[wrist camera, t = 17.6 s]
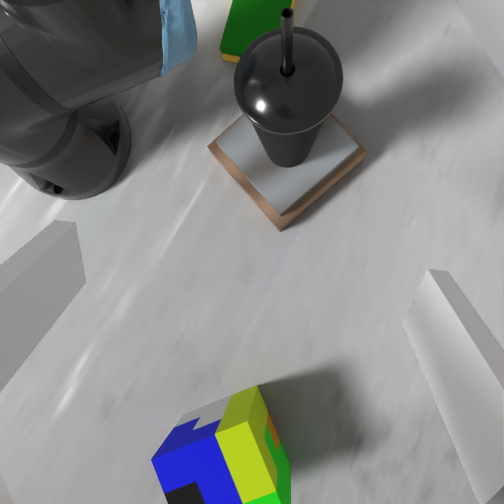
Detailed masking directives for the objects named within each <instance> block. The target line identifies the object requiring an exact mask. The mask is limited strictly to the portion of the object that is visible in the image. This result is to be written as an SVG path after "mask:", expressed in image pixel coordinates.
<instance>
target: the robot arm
mask: <svg viewBox="0 0 504 504" xmlns="http://www.w3.org/2000/svg"><path fill="white" fill-rule="evenodd" d="M196 48H197V30H196V24H195V19H194V15H193V10H192V6H191V2H190V0H0V162H1V163H3V164H6V165H8V166H9V167H10V168H12V169H13V170H14V171H15V172H16V173H17V174H18V175H19V176H21V177H22V178H23V179H24V180H25V181H26V182H27V183H28V184H30V185H31V186H32V187H34V188H35V189H37V190H39V191H41V192H43V193H45V194H48V195H51V196H54V197H57V198H61V199H66V200H81V199H86V198H90V197H92V196H95V195H97V194H99V193H101V192H102V191H104V190H105V189H107V188H108V187H109V186H110V185H111V184H112V183H113V182H114V181H115V180H116V179H117V178H118V177H119V175H120V174H121V172H122V170H123V169H124V167H125V165H126V162H127V160H128V156H129V152H130V146H131V134H130V128H129V124H128V121H127V118H126V116H125V114H124V112H123V110H122V109H121V107H120V106H119V105H118V104H117V103H116V101H115V100H113V99H112V98H111V96H113V95H116V94H118V93H120V92H123V91H125V90H128V89H130V88H133V87H135V86H138V85H140V84H142V83H145V82H147V81H150V80H152V79H155V78H157V77H161V76H164V75H165V74H166V72H167V71H169V70H171V69H173V68H175V67H177V66H179V65H181V64H183V63H185V62H187V61H188V60H189V59H190V58H191V57H192V56H193V55H194V53H195V51H196ZM85 283H86V278H85V273H84V267H83V262H82V256H81V250H80V245H79V239H78V233H77V228H76V223H74V222H66V221H58V220H54V221H53V222H52V223H51V224H50V225H48V226H47V227H46V228H45V229H44V230H42V231H41V232H40V233H39V234H38V235H36V236H35V237H34V238H33V239H32V240H30V241H29V242H28V243H27V244H26V245H24V246H23V247H22V248H21V249H20V250H18V251H17V252H16V253H15V254H14V255H12V256H11V257H10V258H9V259H7V260H6V261H5V262H4V263H3V264H1V265H0V392H1V391H2V389H3V388H4V387H5V386H6V384H7V383H8V382H9V380H10V379H11V378H12V377H13V375H14V374H15V373H16V371H17V370H18V369H19V368H20V366H21V365H22V364H23V362H24V361H25V360H26V359H27V357H28V356H29V355H30V353H31V352H32V351H33V350H34V348H35V347H36V346H37V345H38V343H39V342H40V341H41V339H42V338H43V337H44V336H45V334H46V333H47V332H48V330H49V329H50V328H51V327H52V325H53V324H54V323H55V321H56V320H57V319H58V318H59V316H60V315H61V314H62V312H63V311H64V310H65V309H66V307H67V306H68V305H69V303H70V302H71V301H72V300H73V298H74V297H75V296H76V294H77V293H78V292H79V291H80V289H81V288H82V287H83V285H84V284H85ZM402 324H403V326H404V329H405V331H406V333H407V336H408V338H409V340H410V343H411V345H412V347H413V350H414V352H415V355H416V357H417V359H418V362H419V364H420V366H421V369H422V371H423V373H424V376H425V378H426V380H427V383H428V385H429V387H430V390H431V392H432V395H433V397H434V399H435V402H436V404H437V406H438V409H439V411H440V413H441V416H442V418H443V420H444V423H445V425H446V428H447V430H448V432H449V435H450V437H451V439H452V442H453V444H454V446H455V449H456V451H457V453H458V456H459V458H460V460H461V463H462V465H463V468H464V470H465V472H466V475H467V477H468V479H469V482H470V484H471V486H472V489H473V491H474V493H475V496H476V498H477V501H478V503H479V504H504V350H503V348H502V347H501V345H500V344H499V343H498V341H497V340H496V338H495V337H494V336H493V334H492V333H491V331H490V330H489V329H488V327H487V326H486V324H485V323H484V322H483V320H482V319H481V317H480V316H479V314H478V313H477V312H476V310H475V309H474V307H473V306H472V305H471V303H470V302H469V300H468V299H467V298H466V296H465V295H464V293H463V292H462V291H461V289H460V288H459V286H458V285H457V283H456V282H455V281H454V279H453V278H452V276H451V275H450V274H449V272H448V271H440V270H432V269H427V271H426V273H425V275H424V278H423V280H422V282H421V284H420V286H419V288H418V290H417V293H416V295H415V297H414V299H413V301H412V303H411V305H410V308H409V310H408V312H407V314H406V316H405V318H404V321H403V323H402Z"/></svg>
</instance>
